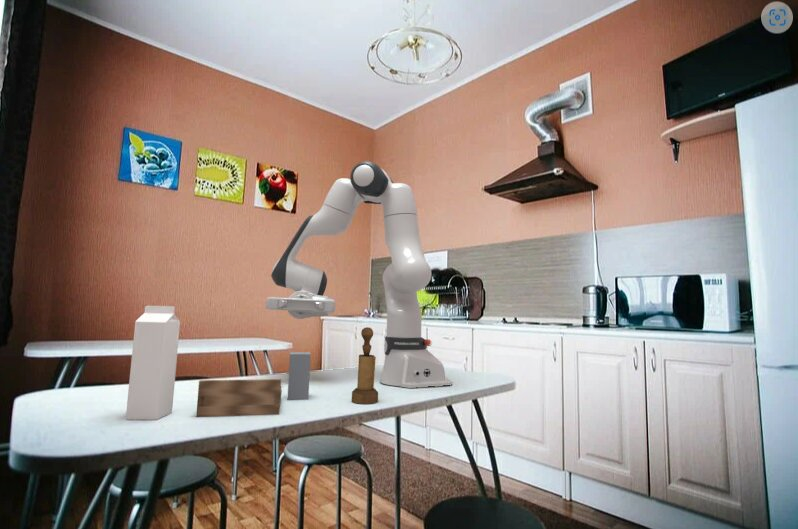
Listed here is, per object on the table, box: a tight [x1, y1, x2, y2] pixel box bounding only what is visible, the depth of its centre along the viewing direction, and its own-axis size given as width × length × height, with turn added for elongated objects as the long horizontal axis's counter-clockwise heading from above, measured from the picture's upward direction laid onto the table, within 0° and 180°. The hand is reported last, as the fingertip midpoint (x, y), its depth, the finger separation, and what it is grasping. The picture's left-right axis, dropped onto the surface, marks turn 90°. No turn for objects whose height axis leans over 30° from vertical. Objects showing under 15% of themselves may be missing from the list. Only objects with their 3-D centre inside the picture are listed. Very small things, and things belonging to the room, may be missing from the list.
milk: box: [125, 305, 181, 421], centre depth 83 cm, size 6×6×22 cm
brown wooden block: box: [195, 378, 283, 418], centre depth 92 cm, size 16×16×7 cm
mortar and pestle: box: [351, 327, 379, 405], centre depth 101 cm, size 7×6×18 cm
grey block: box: [287, 351, 312, 401], centre depth 103 cm, size 5×5×11 cm
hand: (301, 304), depth 116 cm, fingers open, 8 cm apart
